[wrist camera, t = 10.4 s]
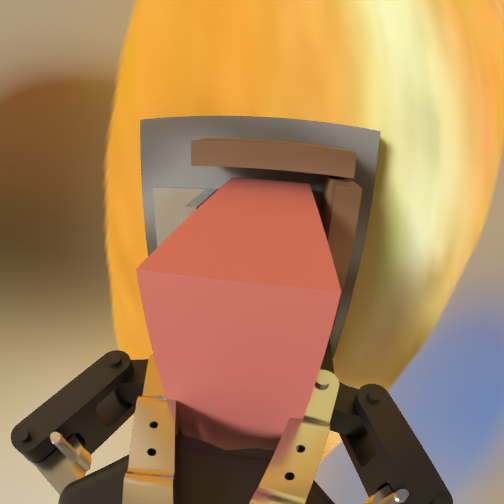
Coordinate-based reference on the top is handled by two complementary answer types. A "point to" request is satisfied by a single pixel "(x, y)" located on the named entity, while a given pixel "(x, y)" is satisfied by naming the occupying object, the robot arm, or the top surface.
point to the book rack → (271, 173)
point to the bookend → (176, 207)
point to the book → (242, 311)
